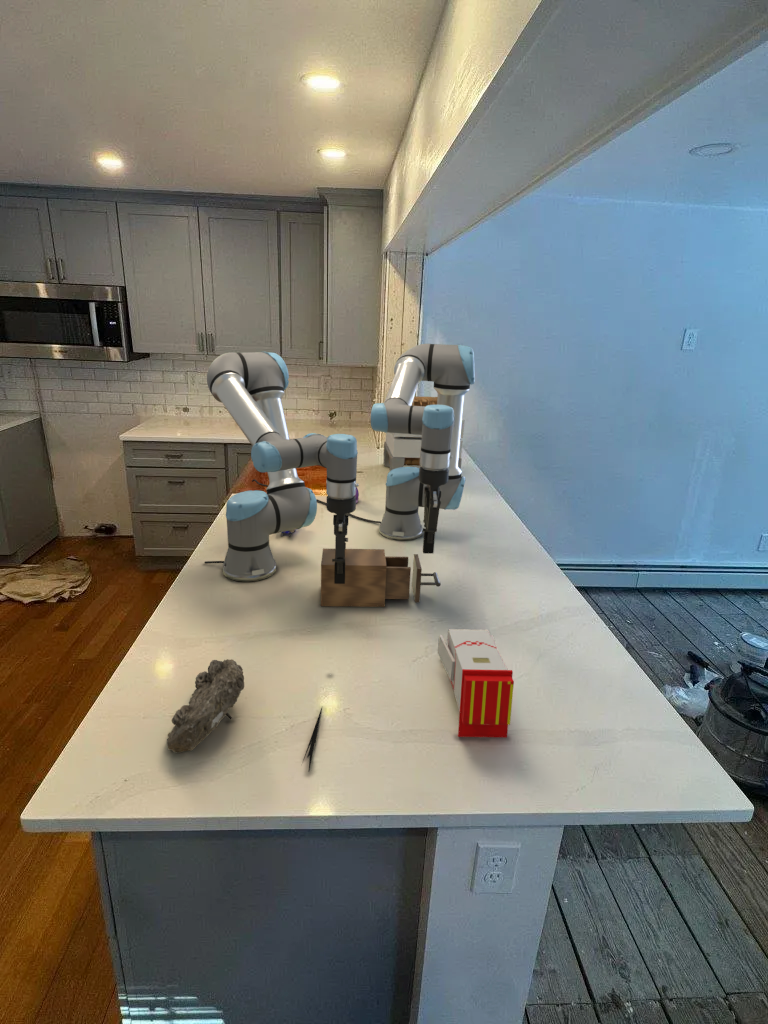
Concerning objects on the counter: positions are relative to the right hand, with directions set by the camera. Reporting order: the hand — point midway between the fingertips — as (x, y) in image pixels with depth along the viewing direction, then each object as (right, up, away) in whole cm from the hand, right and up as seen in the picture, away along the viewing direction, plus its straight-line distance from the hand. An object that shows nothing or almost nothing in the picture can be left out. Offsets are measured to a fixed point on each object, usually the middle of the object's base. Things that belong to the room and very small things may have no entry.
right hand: (427, 552), depth 152 cm
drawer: (-7, -12, +4) cm, 14 cm away
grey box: (+5, +30, +123) cm, 127 cm away
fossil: (-45, -28, -44) cm, 68 cm away
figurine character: (-45, +4, +46) cm, 65 cm away
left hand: (-24, -6, +1) cm, 24 cm away
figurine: (-26, +15, +78) cm, 83 cm away
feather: (-24, -29, -43) cm, 57 cm away
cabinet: (-20, -12, +3) cm, 24 cm away
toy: (+6, -27, -33) cm, 43 cm away
